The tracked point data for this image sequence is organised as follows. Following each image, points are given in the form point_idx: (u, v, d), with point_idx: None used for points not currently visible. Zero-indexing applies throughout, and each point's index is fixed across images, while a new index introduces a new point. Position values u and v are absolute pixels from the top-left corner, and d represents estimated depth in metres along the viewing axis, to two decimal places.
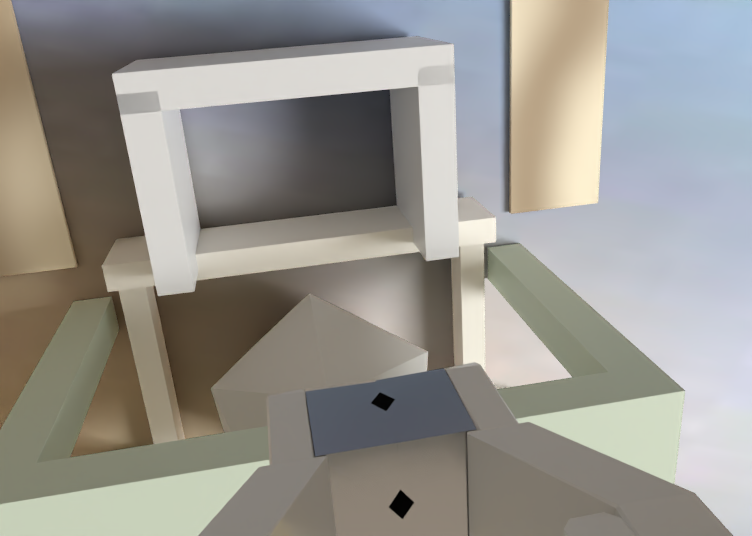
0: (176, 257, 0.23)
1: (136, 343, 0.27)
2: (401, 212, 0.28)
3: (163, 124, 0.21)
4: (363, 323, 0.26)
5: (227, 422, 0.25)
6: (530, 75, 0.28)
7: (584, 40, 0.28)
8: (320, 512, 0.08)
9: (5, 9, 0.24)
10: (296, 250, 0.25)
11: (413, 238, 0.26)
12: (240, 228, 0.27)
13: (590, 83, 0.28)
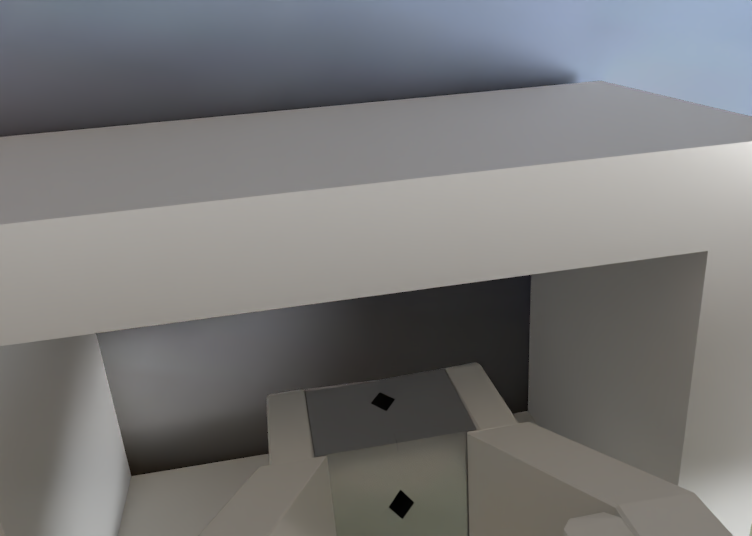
0: None
1: None
2: None
3: None
4: None
5: None
6: None
7: None
8: (320, 512, 0.08)
9: None
10: None
11: None
12: (213, 480, 0.13)
13: None
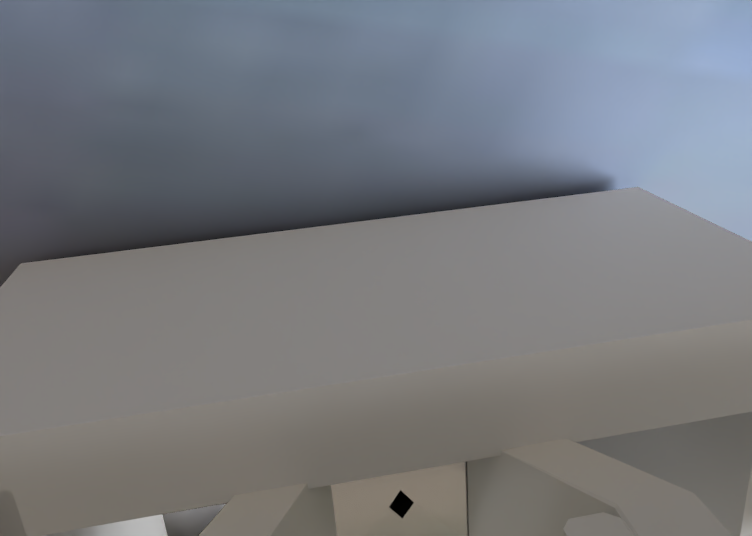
0: None
1: None
2: None
3: None
4: None
5: None
6: None
7: None
8: (321, 512, 0.08)
9: None
10: None
11: None
12: None
13: None
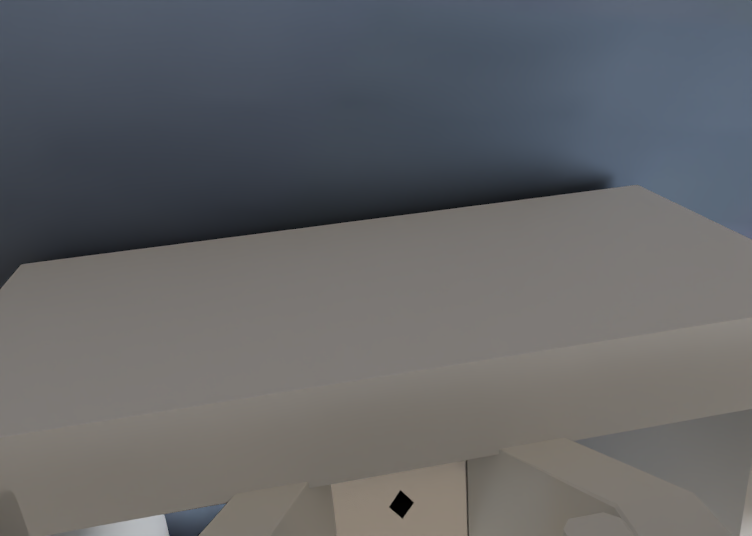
0: None
1: None
2: None
3: None
4: None
5: None
6: None
7: None
8: (321, 512, 0.08)
9: None
10: None
11: None
12: None
13: None
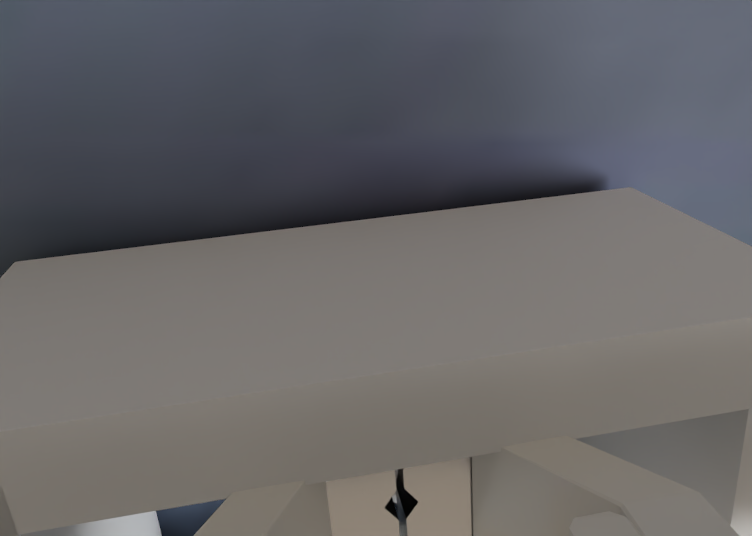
0: None
1: None
2: None
3: None
4: None
5: None
6: None
7: None
8: (316, 513, 0.08)
9: None
10: None
11: None
12: None
13: None
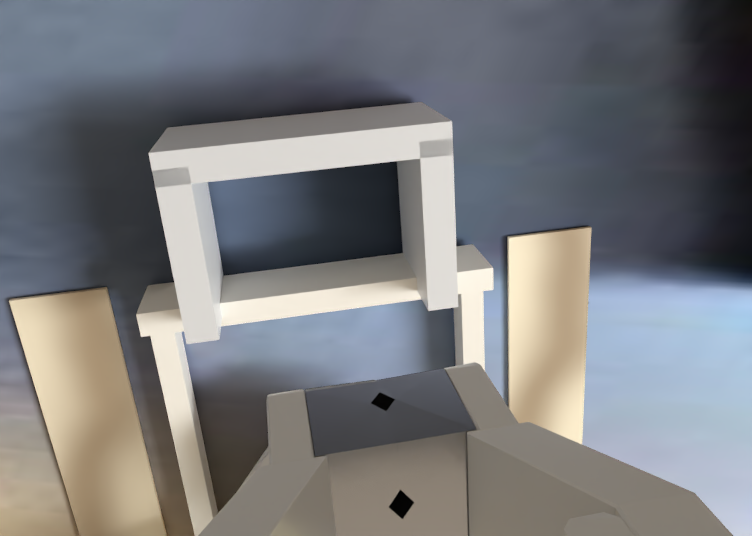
0: (203, 310, 0.25)
1: (165, 380, 0.30)
2: (407, 260, 0.30)
3: (193, 195, 0.24)
4: None
5: None
6: (524, 390, 0.35)
7: (568, 363, 0.35)
8: (320, 512, 0.08)
9: (123, 377, 0.31)
10: (310, 298, 0.28)
11: (417, 287, 0.28)
12: (259, 275, 0.30)
13: (572, 391, 0.35)
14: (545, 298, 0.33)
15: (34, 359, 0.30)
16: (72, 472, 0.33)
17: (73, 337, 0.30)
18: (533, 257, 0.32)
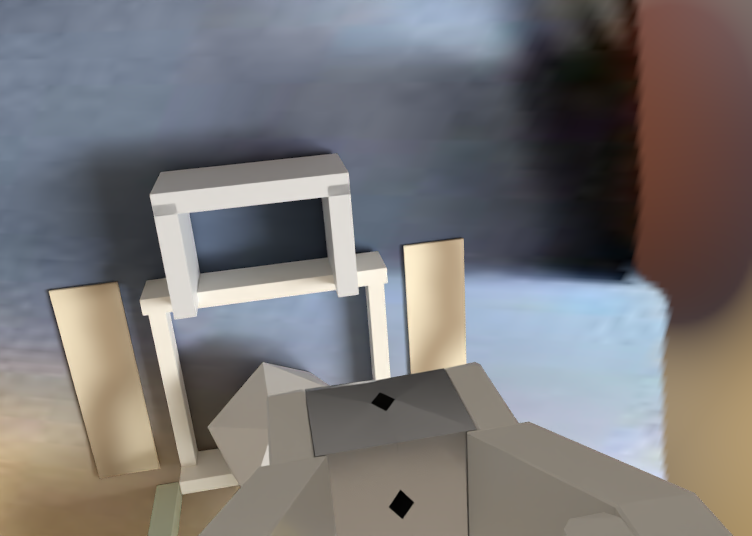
0: (185, 297, 0.38)
1: (159, 347, 0.42)
2: (329, 263, 0.43)
3: (178, 221, 0.36)
4: (296, 378, 0.43)
5: (219, 446, 0.41)
6: (421, 356, 0.48)
7: (452, 337, 0.48)
8: (320, 512, 0.08)
9: (128, 346, 0.44)
10: (260, 289, 0.41)
11: (333, 281, 0.41)
12: (225, 273, 0.42)
13: (457, 357, 0.48)
14: (432, 289, 0.46)
15: (65, 332, 0.43)
16: (91, 415, 0.45)
17: (93, 317, 0.43)
18: (422, 260, 0.45)
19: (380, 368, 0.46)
